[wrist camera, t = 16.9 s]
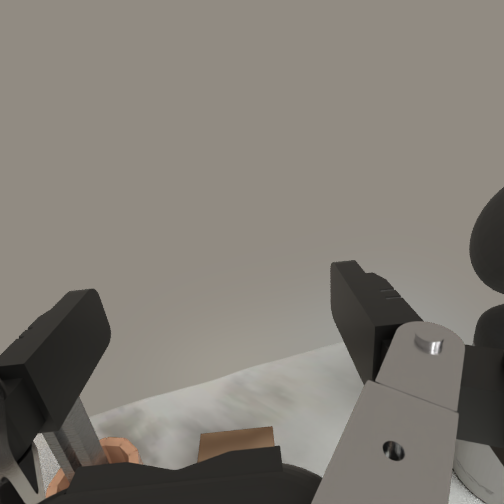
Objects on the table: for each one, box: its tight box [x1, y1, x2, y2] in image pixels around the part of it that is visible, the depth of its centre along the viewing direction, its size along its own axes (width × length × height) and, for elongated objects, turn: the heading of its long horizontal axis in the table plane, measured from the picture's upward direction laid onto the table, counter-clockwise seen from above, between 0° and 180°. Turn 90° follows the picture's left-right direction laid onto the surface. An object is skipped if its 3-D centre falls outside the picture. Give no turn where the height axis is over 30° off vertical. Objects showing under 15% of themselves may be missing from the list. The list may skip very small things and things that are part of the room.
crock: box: [46, 437, 143, 498], centre depth 34 cm, size 9×9×8 cm
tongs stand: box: [197, 426, 275, 463], centre depth 35 cm, size 10×9×5 cm
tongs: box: [42, 395, 109, 483], centre depth 31 cm, size 3×3×21 cm
